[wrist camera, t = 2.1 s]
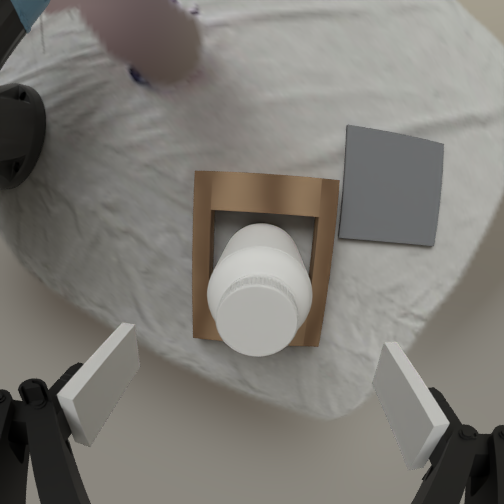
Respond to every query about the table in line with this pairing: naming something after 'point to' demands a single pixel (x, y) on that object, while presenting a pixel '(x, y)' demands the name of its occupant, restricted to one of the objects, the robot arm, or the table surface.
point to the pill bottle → (259, 291)
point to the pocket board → (263, 201)
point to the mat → (390, 187)
